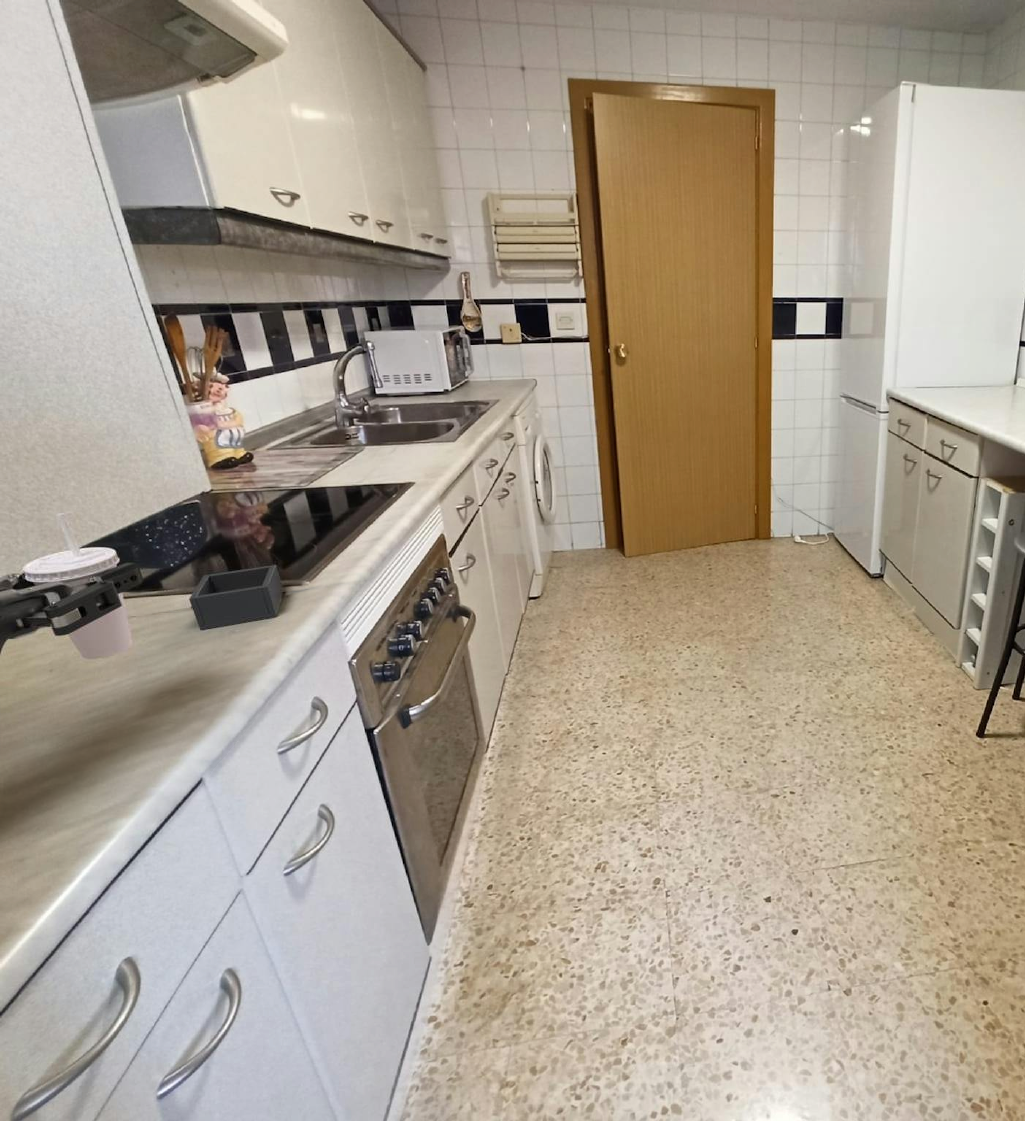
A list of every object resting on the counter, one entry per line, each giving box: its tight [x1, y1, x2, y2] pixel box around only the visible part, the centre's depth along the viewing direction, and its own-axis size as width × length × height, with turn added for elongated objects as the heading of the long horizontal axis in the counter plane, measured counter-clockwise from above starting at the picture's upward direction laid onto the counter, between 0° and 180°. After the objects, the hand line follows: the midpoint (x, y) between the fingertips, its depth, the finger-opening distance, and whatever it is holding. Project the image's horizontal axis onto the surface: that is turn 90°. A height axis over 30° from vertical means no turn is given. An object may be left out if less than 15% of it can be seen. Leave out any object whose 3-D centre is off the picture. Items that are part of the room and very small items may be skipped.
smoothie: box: [22, 512, 134, 660], centre depth 62 cm, size 6×6×14 cm
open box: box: [188, 564, 285, 631], centre depth 89 cm, size 8×8×5 cm
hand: (103, 570), depth 64 cm, fingers closed on smoothie, 6 cm apart
